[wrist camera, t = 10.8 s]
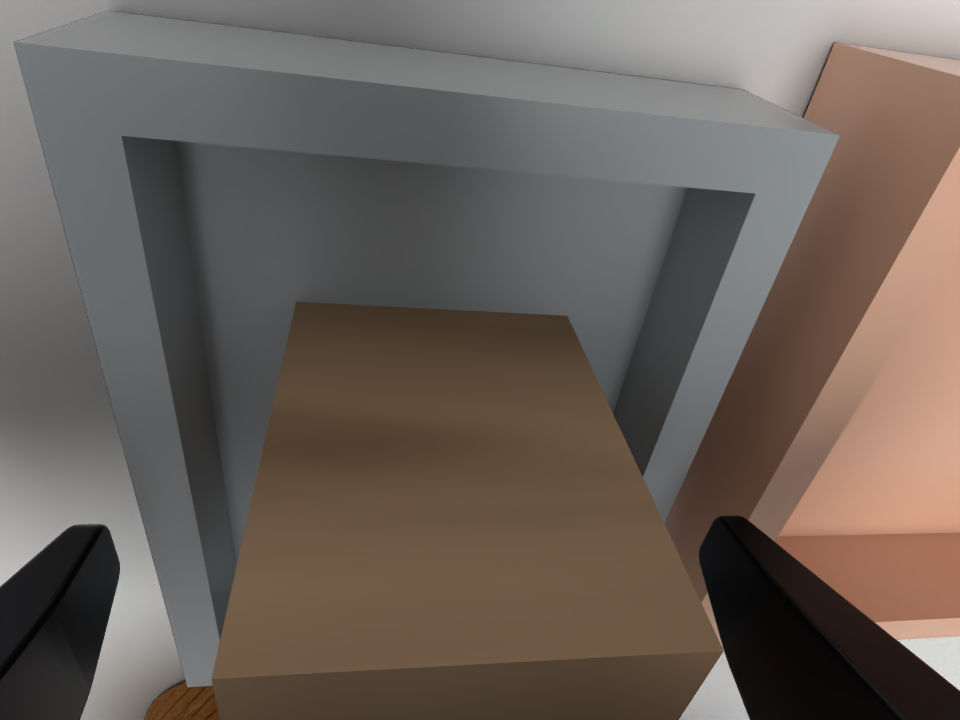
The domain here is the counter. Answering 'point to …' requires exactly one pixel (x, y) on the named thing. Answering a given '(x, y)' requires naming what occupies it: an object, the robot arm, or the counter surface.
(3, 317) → the counter surface
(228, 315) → the tray
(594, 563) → the block
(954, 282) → the dish
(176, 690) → the disposable coffee cup
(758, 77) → the counter surface
